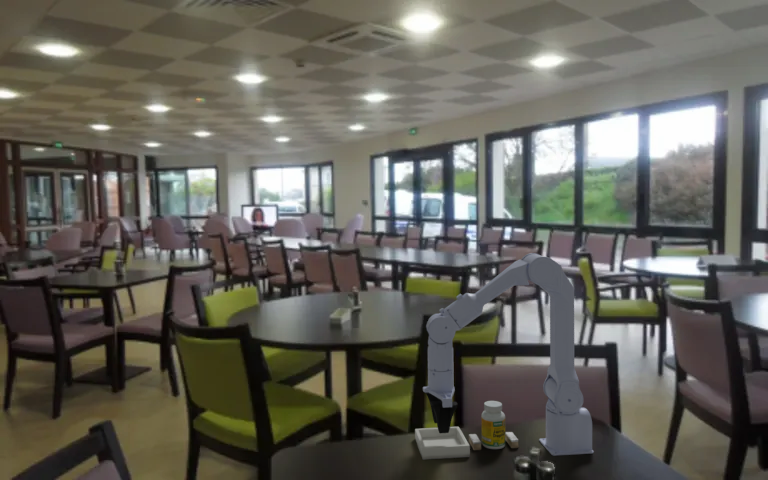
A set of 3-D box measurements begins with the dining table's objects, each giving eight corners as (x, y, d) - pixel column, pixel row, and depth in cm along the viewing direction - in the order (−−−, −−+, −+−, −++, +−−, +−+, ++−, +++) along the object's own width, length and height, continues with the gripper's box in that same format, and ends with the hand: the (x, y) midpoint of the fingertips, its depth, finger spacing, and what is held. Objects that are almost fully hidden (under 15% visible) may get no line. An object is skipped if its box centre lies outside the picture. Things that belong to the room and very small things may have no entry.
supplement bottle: (493, 437, 127) (493, 397, 127) (510, 445, 123) (510, 404, 122) (476, 443, 124) (476, 402, 124) (493, 452, 120) (493, 409, 119)
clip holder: (512, 439, 126) (512, 431, 126) (518, 447, 122) (518, 439, 122) (469, 441, 125) (468, 434, 125) (473, 450, 121) (473, 442, 121)
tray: (458, 436, 128) (458, 426, 128) (469, 456, 118) (469, 445, 118) (415, 439, 127) (415, 428, 127) (422, 459, 117) (422, 448, 117)
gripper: (417, 359, 128) (418, 416, 129) (428, 378, 114) (429, 442, 115) (447, 358, 129) (447, 414, 130) (461, 377, 115) (462, 440, 115)
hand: (441, 427), depth 122 cm, fingers open, 5 cm apart
